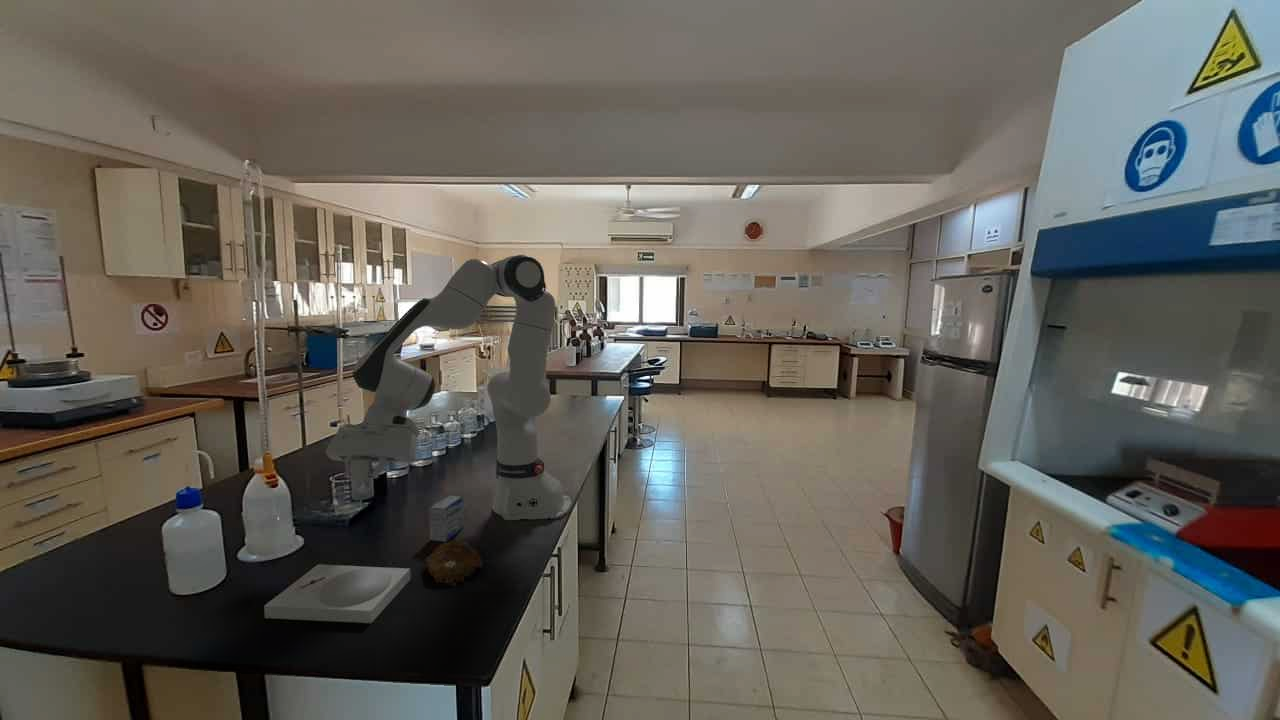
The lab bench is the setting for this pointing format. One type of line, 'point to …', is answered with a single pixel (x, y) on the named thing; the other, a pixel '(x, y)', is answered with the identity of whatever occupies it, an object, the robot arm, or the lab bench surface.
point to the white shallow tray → (339, 594)
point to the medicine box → (446, 518)
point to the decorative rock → (453, 562)
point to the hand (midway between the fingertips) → (360, 477)
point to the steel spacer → (361, 478)
